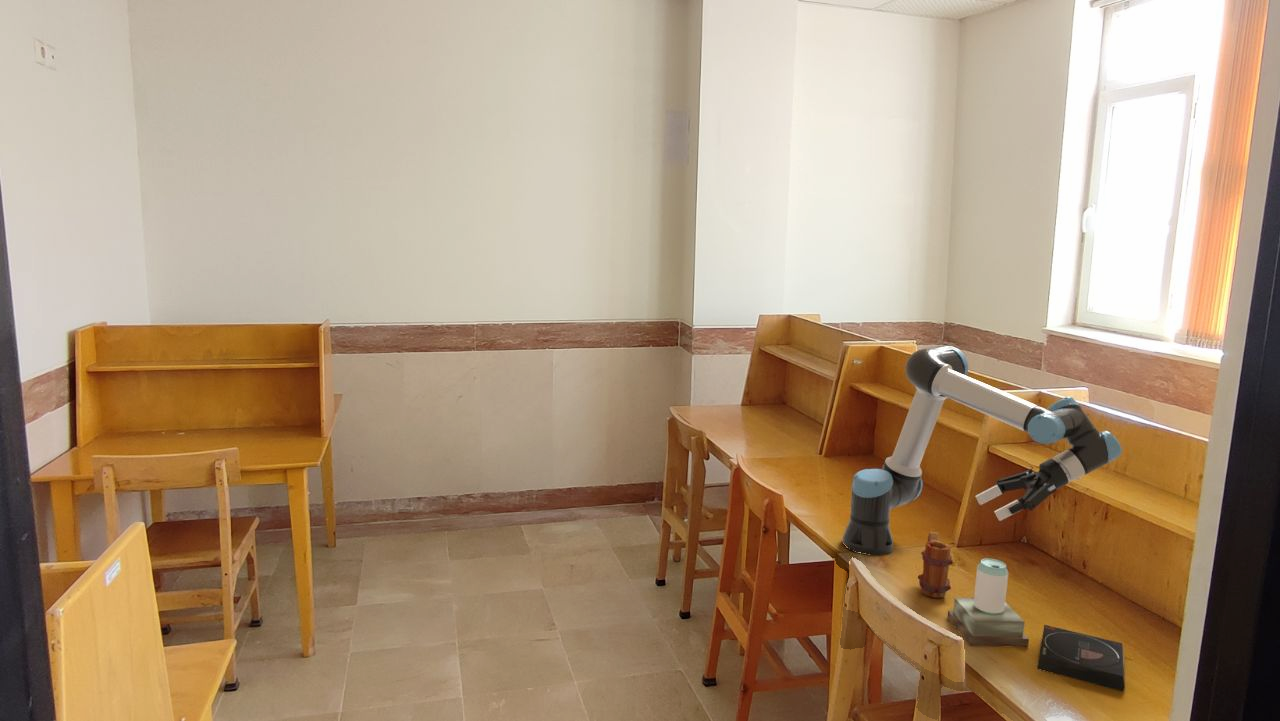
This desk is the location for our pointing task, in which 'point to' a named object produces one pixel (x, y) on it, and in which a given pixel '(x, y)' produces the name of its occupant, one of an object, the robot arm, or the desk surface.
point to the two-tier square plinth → (987, 625)
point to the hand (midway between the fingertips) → (986, 508)
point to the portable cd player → (1082, 657)
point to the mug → (935, 567)
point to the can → (991, 586)
